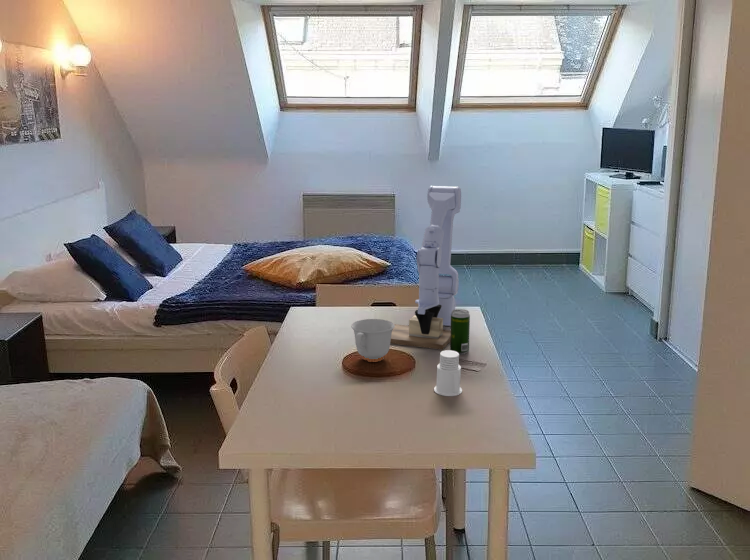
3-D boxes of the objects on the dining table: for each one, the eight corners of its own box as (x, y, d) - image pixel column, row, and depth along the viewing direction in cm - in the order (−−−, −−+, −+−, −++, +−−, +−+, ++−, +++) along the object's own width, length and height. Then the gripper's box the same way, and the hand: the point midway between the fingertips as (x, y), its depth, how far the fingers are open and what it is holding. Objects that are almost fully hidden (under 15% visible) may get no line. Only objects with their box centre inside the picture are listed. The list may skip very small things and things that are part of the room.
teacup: (338, 365, 198) (337, 330, 195) (364, 349, 210) (364, 316, 208) (377, 373, 192) (377, 337, 190) (401, 356, 205) (402, 322, 203)
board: (394, 328, 230) (394, 324, 229) (455, 335, 223) (455, 330, 222) (378, 341, 217) (378, 337, 217) (442, 349, 210) (442, 344, 210)
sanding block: (414, 330, 222) (414, 315, 221) (442, 334, 219) (442, 318, 218) (409, 335, 218) (409, 319, 217) (437, 339, 215) (438, 322, 214)
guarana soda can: (472, 352, 208) (474, 311, 205) (459, 356, 205) (460, 315, 202) (459, 347, 212) (460, 307, 209) (446, 351, 209) (446, 311, 206)
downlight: (427, 387, 183) (429, 350, 180) (451, 382, 185) (453, 346, 183) (443, 400, 176) (445, 361, 173) (468, 395, 178) (470, 357, 176)
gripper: (423, 280, 223) (422, 322, 226) (407, 291, 210) (407, 336, 213) (445, 282, 220) (444, 325, 224) (431, 294, 207) (430, 339, 210)
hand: (428, 331), depth 218 cm, fingers closed on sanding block, 5 cm apart
